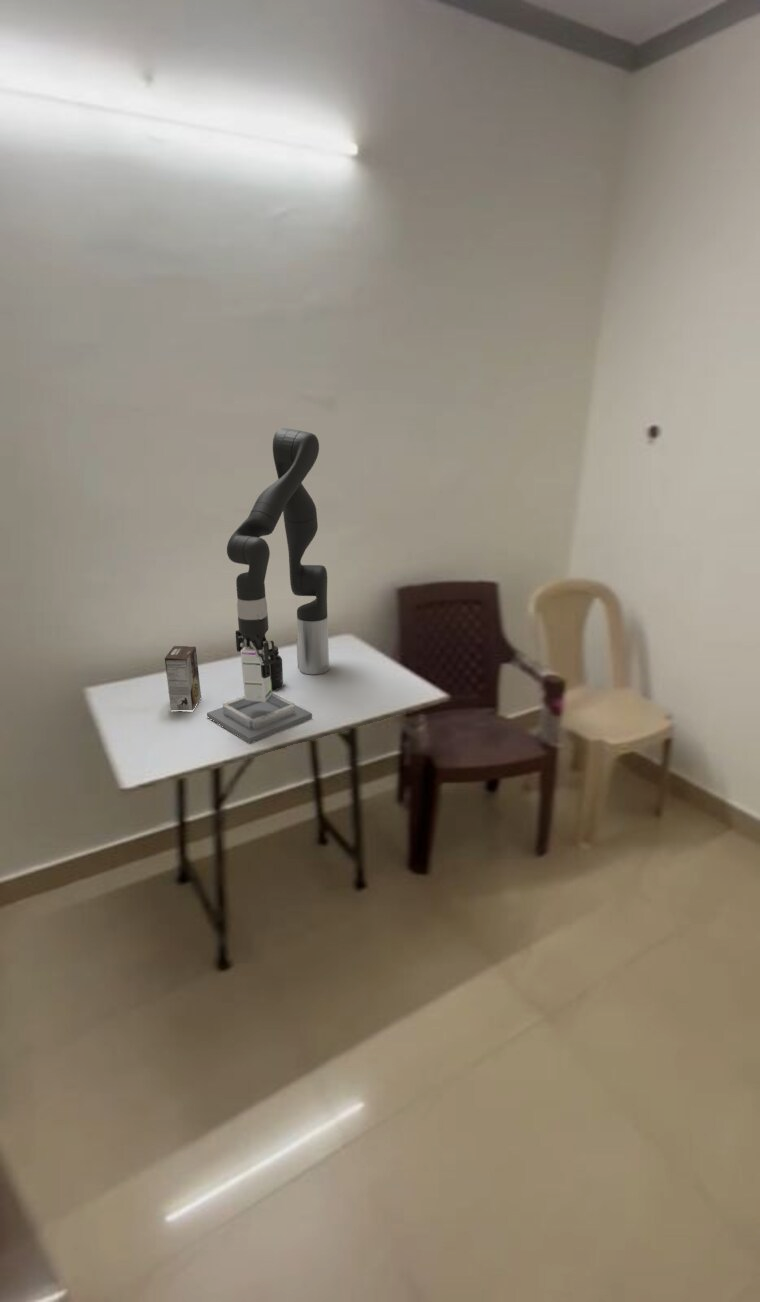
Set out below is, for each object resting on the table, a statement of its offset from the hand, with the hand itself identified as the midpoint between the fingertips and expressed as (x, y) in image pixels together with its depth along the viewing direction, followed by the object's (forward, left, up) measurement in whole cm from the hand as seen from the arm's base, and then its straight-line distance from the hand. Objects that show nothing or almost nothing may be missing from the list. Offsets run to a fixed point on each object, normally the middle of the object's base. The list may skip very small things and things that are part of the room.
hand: (256, 672), depth 191 cm
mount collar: (0, 0, -12) cm, 12 cm away
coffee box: (-21, -10, -13) cm, 27 cm away
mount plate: (0, 0, -13) cm, 13 cm away
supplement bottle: (-15, +15, -13) cm, 25 cm away
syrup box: (0, 0, -7) cm, 7 cm away
